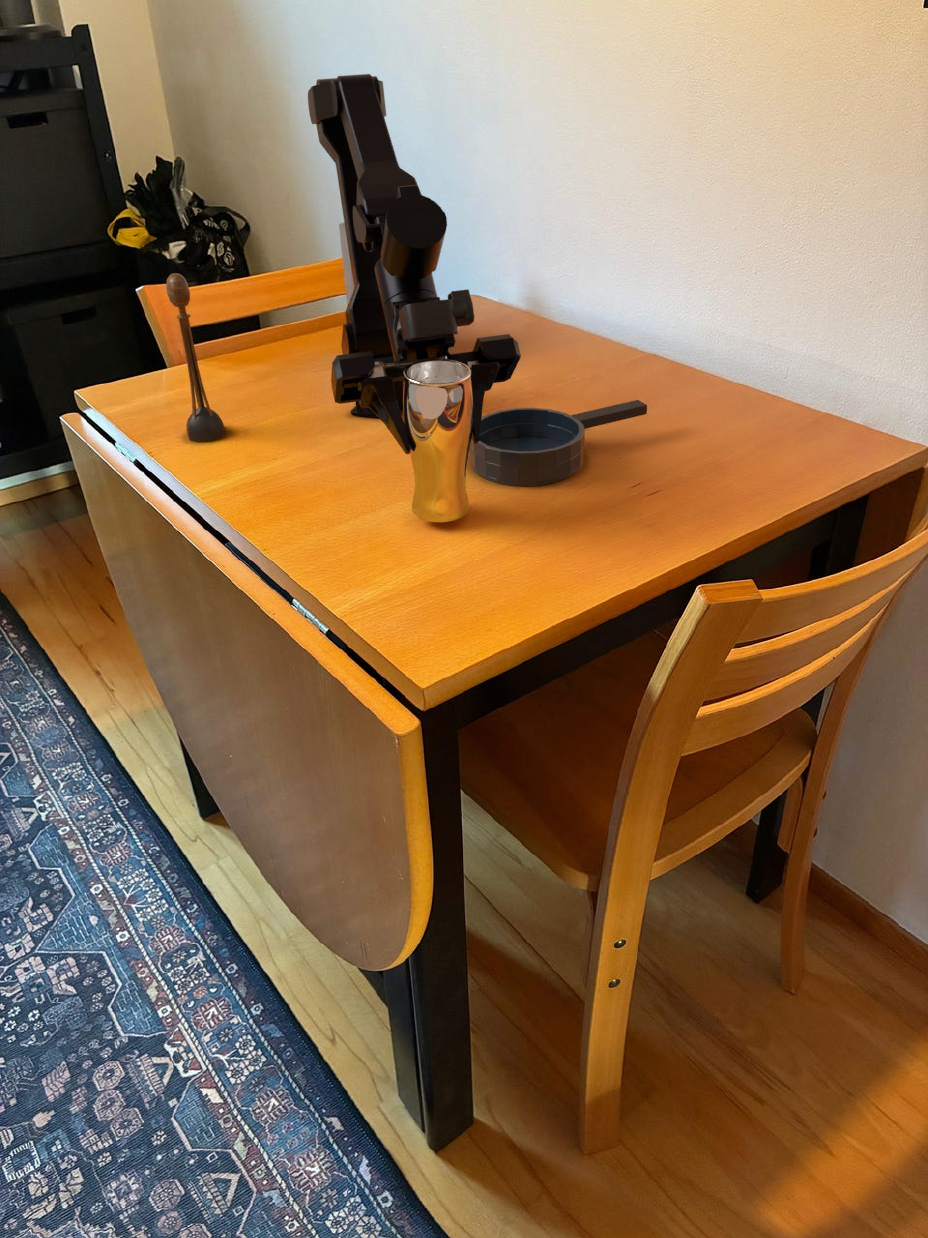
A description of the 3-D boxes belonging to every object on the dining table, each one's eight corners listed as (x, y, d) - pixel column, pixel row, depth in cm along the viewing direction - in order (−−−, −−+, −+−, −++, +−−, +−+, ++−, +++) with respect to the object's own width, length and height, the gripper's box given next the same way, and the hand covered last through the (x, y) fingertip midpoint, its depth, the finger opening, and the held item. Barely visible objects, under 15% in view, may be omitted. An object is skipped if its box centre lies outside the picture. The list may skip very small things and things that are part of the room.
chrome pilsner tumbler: (425, 531, 98) (420, 390, 89) (397, 501, 103) (389, 365, 94) (485, 515, 101) (486, 376, 92) (455, 487, 106) (453, 353, 97)
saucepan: (454, 478, 110) (453, 446, 108) (489, 433, 121) (489, 403, 118) (567, 492, 106) (568, 458, 104) (594, 444, 117) (595, 412, 114)
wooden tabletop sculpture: (183, 428, 126) (150, 269, 115) (219, 421, 127) (189, 264, 116) (192, 444, 121) (157, 280, 110) (228, 437, 123) (198, 275, 111)
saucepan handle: (578, 430, 113) (578, 420, 113) (569, 424, 115) (569, 415, 114) (646, 414, 117) (647, 404, 116) (637, 408, 118) (637, 399, 118)
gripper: (321, 271, 89) (354, 429, 87) (514, 250, 93) (551, 401, 91) (319, 330, 100) (348, 472, 98) (492, 309, 104) (524, 445, 101)
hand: (442, 447), depth 96 cm, fingers closed on chrome pilsner tumbler, 7 cm apart
